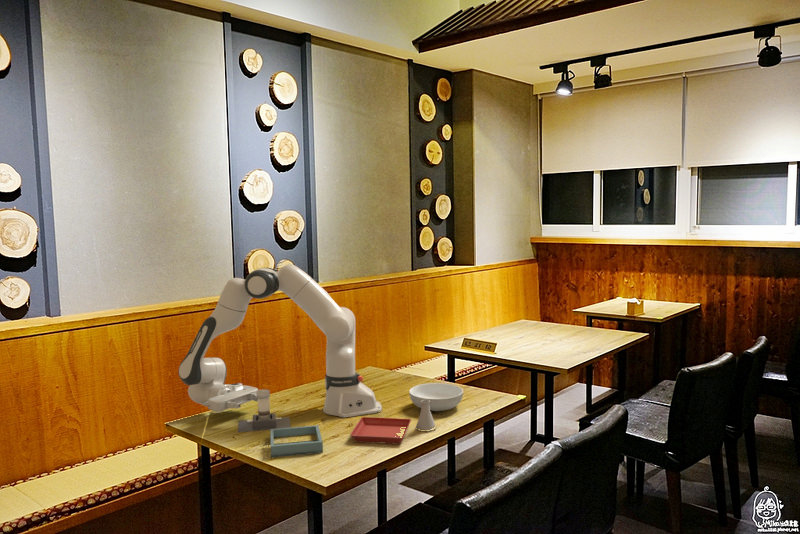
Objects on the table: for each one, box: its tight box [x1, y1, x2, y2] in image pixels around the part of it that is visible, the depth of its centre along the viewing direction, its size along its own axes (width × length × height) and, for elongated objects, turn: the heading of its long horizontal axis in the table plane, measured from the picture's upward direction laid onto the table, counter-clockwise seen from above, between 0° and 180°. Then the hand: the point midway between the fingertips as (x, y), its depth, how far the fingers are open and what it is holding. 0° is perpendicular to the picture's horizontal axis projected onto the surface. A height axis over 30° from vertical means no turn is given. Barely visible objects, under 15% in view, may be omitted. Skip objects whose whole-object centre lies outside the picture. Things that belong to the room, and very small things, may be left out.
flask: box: [415, 400, 436, 430], centre depth 215 cm, size 7×7×10 cm
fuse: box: [257, 388, 271, 420], centre depth 219 cm, size 4×4×12 cm
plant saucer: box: [349, 416, 412, 444], centre depth 210 cm, size 18×18×3 cm
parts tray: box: [269, 424, 324, 459], centre depth 201 cm, size 16×16×4 cm
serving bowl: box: [408, 382, 464, 412], centre depth 239 cm, size 21×21×7 cm
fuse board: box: [237, 412, 292, 433], centre depth 219 cm, size 18×12×4 cm, turn 102°
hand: (249, 402), depth 223 cm, fingers open, 8 cm apart
